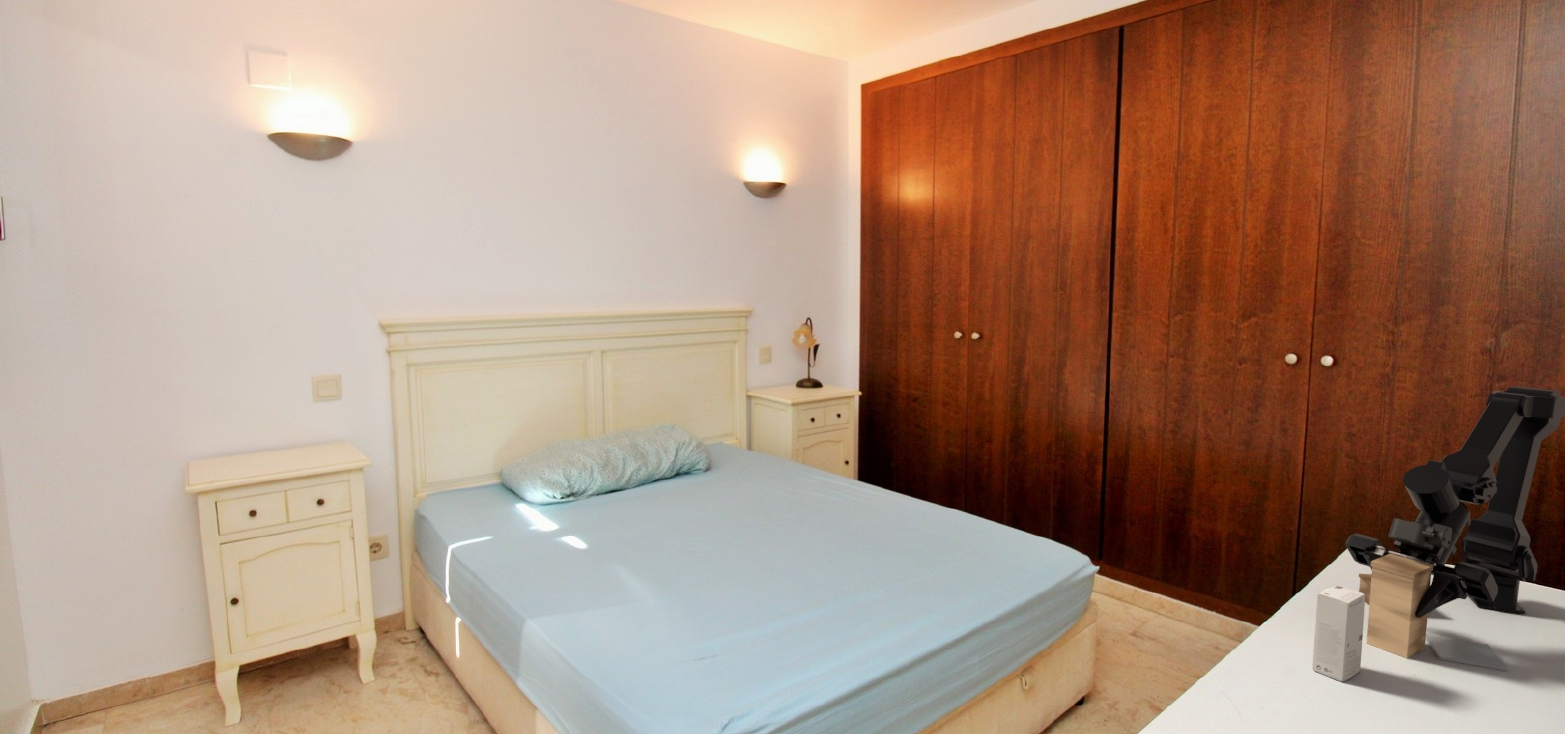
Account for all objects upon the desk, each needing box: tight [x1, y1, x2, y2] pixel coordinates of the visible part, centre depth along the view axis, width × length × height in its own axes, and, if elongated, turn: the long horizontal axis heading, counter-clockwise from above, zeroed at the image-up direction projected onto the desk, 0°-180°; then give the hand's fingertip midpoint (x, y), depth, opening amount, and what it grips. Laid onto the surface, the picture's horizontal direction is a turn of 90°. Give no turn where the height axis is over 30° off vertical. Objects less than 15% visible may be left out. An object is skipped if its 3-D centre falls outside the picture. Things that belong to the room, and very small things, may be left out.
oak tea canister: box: [1366, 554, 1433, 659], centre depth 121 cm, size 6×6×14 cm
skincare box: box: [1311, 585, 1366, 682], centre depth 114 cm, size 6×4×12 cm
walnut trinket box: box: [1358, 573, 1372, 606], centre depth 137 cm, size 6×6×5 cm
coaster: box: [1425, 633, 1508, 672], centre depth 120 cm, size 8×8×1 cm
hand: (1394, 608), depth 121 cm, fingers closed on oak tea canister, 5 cm apart
